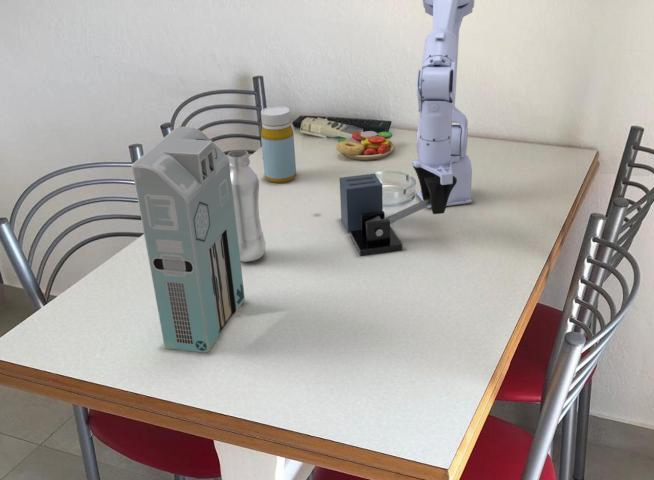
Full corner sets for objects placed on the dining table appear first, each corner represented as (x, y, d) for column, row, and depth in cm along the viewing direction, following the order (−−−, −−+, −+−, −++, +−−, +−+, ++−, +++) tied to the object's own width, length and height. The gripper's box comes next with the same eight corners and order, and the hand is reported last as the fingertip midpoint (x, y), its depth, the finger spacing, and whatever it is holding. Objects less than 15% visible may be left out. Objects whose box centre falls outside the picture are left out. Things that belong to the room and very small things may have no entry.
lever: (434, 198, 164) (431, 187, 163) (442, 209, 160) (439, 198, 159) (367, 229, 165) (363, 218, 163) (373, 240, 161) (369, 229, 159)
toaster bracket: (390, 231, 168) (390, 205, 165) (402, 250, 161) (402, 223, 158) (350, 236, 167) (349, 211, 164) (360, 255, 160) (359, 229, 157)
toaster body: (375, 216, 174) (374, 172, 169) (382, 228, 169) (382, 184, 164) (341, 220, 173) (339, 177, 168) (347, 233, 168) (346, 188, 163)
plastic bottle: (273, 252, 162) (263, 149, 151) (255, 268, 157) (244, 162, 146) (243, 247, 165) (231, 144, 153) (225, 262, 160) (211, 158, 148)
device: (210, 354, 134) (182, 168, 117) (164, 348, 136) (130, 165, 119) (245, 302, 147) (225, 128, 130) (203, 298, 149) (178, 125, 132)
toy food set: (333, 161, 200) (332, 147, 198) (342, 141, 210) (341, 128, 208) (390, 162, 198) (390, 148, 196) (397, 142, 208) (397, 128, 206)
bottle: (300, 173, 194) (296, 106, 186) (289, 185, 189) (284, 117, 180) (272, 170, 196) (266, 104, 188) (260, 182, 191) (253, 114, 182)
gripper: (402, 125, 160) (402, 194, 167) (426, 152, 148) (424, 225, 156) (439, 121, 161) (437, 190, 168) (465, 147, 149) (462, 220, 157)
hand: (433, 207), depth 162 cm, fingers closed on lever, 5 cm apart
